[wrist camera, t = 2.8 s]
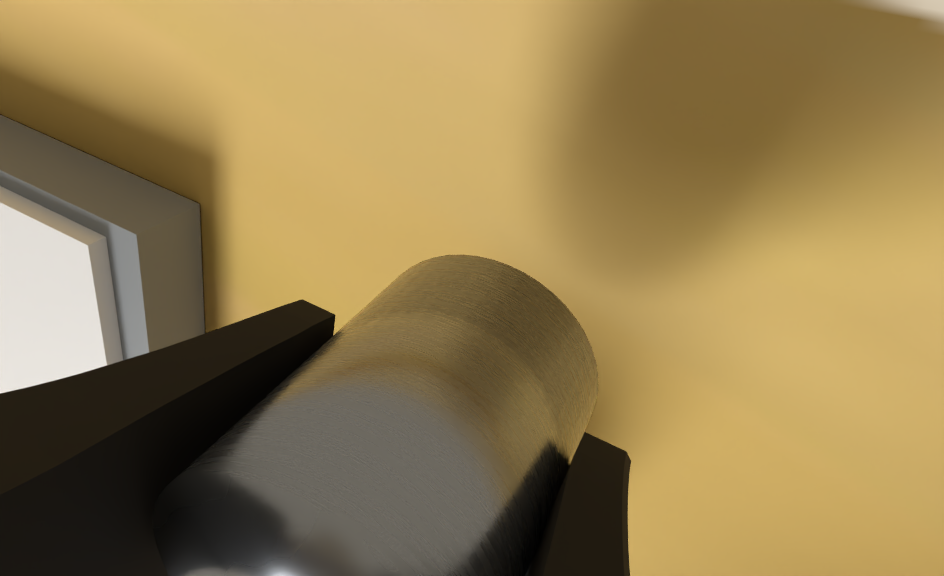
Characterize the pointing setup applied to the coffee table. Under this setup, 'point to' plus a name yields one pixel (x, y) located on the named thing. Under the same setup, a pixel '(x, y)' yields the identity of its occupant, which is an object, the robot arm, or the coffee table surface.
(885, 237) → the coffee table surface
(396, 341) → the cylinder
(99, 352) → the white grey-edged panel
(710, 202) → the coffee table surface
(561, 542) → the robot arm
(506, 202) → the coffee table surface
